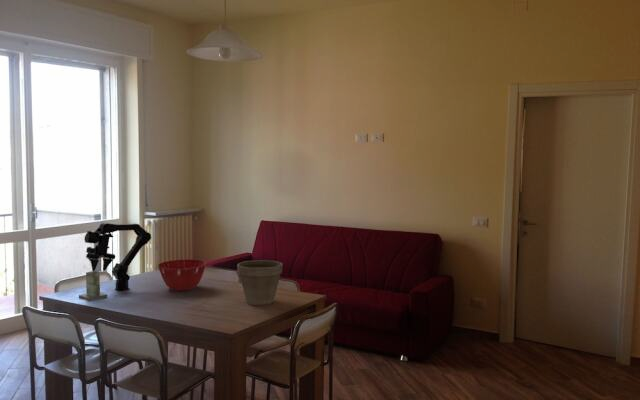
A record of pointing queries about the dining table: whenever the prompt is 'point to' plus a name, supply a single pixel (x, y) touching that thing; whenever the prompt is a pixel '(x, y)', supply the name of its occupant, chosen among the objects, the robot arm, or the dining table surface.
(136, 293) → the dining table surface
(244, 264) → the plant pot
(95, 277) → the green post
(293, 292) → the dining table surface
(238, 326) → the dining table surface
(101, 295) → the base board
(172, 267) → the mixing bowl
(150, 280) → the dining table surface
